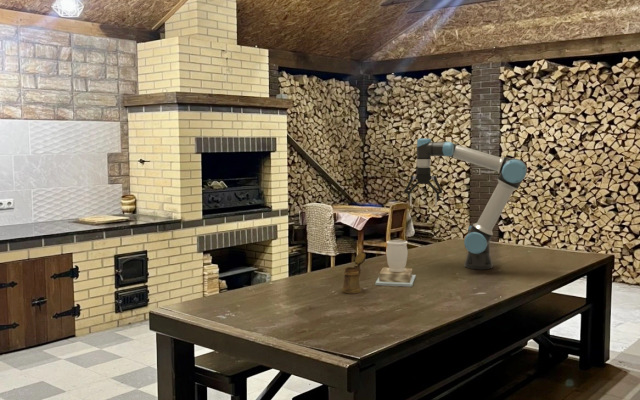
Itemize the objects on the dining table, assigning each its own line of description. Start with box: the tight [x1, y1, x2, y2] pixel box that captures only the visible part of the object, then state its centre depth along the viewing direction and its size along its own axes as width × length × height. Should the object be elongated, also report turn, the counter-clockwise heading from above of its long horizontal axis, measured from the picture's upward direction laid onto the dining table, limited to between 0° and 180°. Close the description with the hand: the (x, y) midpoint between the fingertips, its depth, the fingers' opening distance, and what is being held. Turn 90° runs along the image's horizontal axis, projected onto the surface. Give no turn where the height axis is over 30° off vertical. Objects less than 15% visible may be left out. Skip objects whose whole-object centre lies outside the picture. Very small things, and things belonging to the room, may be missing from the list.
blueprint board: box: [374, 274, 417, 288], centre depth 338 cm, size 18×22×1 cm
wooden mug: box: [341, 251, 367, 294], centre depth 317 cm, size 9×14×18 cm, turn 135°
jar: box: [385, 239, 409, 272], centre depth 336 cm, size 11×10×15 cm
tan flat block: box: [378, 267, 413, 283], centre depth 337 cm, size 15×15×4 cm
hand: (423, 205), depth 365 cm, fingers open, 13 cm apart
